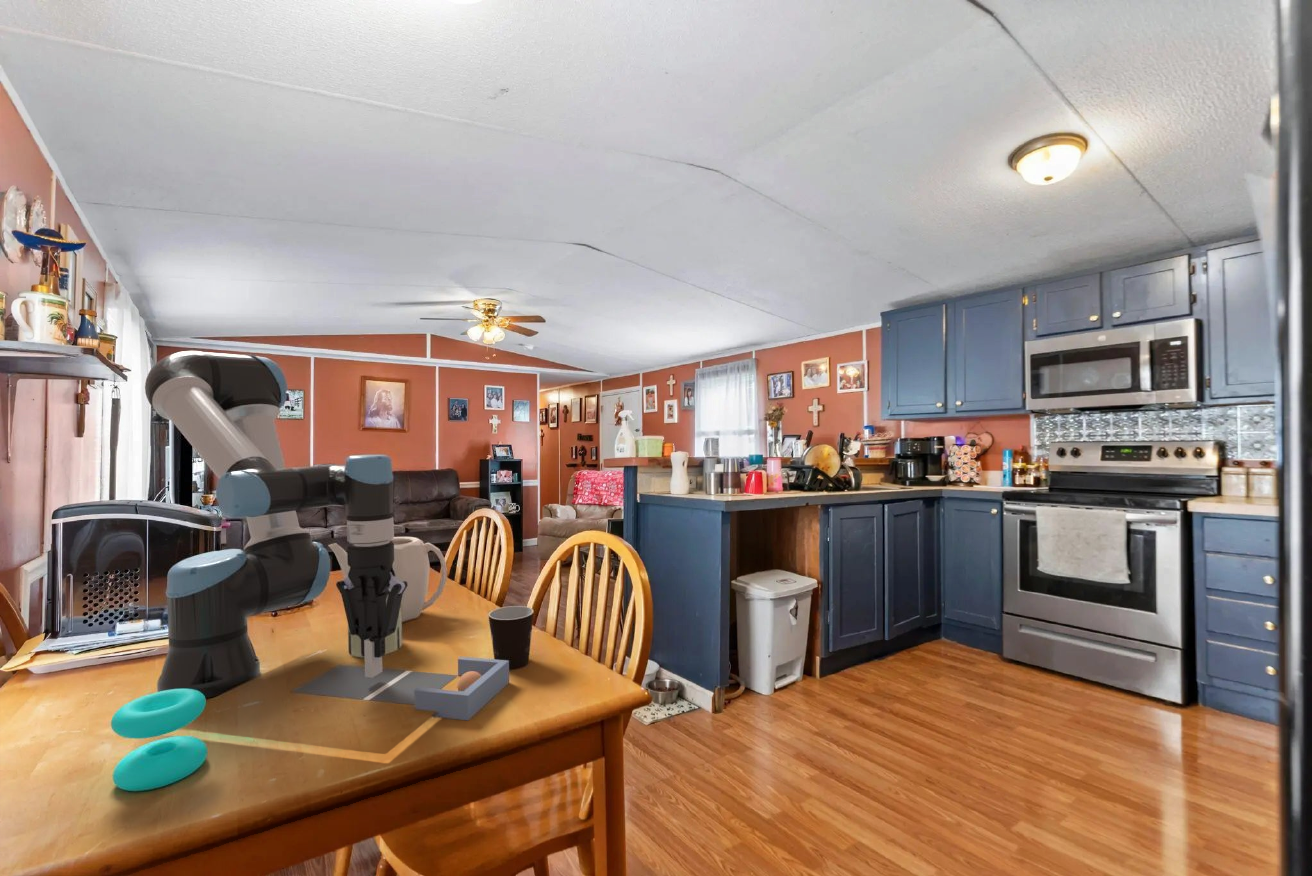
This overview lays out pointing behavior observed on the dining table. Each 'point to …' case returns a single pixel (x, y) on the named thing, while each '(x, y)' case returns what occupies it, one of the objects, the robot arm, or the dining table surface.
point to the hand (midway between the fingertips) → (373, 674)
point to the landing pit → (470, 699)
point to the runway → (373, 684)
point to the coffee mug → (511, 634)
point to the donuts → (162, 756)
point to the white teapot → (408, 572)
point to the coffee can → (391, 641)
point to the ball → (467, 680)
